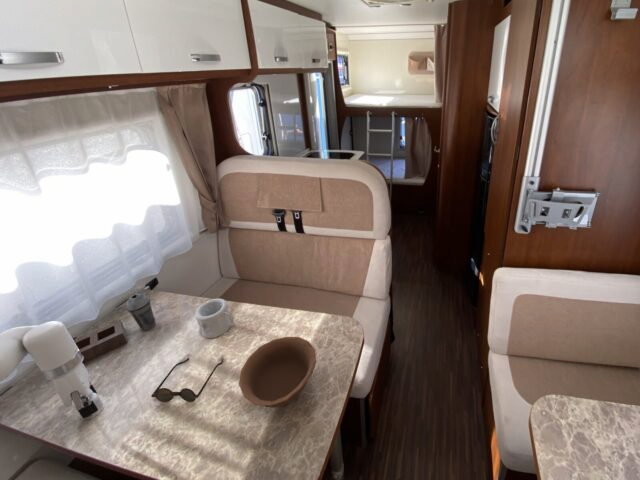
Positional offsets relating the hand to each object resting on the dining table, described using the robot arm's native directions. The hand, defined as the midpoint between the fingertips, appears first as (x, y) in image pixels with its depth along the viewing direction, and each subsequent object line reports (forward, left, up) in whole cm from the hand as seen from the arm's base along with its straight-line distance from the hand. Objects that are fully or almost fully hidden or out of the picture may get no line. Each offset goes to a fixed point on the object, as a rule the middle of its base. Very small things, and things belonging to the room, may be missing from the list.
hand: (90, 405), depth 89 cm
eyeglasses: (+24, -10, -3) cm, 26 cm away
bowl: (+44, -35, -3) cm, 56 cm away
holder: (+2, +29, -3) cm, 29 cm away
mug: (+37, +6, -3) cm, 38 cm away
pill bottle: (0, 0, -3) cm, 3 cm away
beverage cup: (+17, +28, -3) cm, 33 cm away
